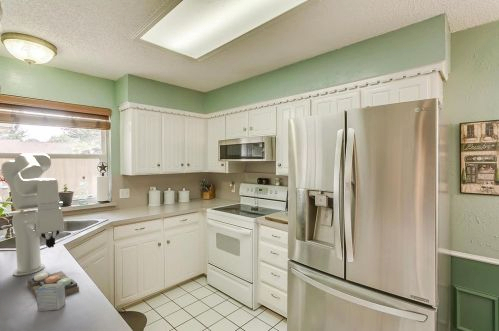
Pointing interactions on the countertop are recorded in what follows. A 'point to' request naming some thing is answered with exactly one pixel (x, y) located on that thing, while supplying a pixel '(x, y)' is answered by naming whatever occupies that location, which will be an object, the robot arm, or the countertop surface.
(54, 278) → the terracotta button
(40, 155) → the robot arm
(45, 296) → the medicine box
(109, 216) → the countertop surface
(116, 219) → the countertop surface
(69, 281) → the sage button
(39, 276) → the cream button
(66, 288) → the button panel
